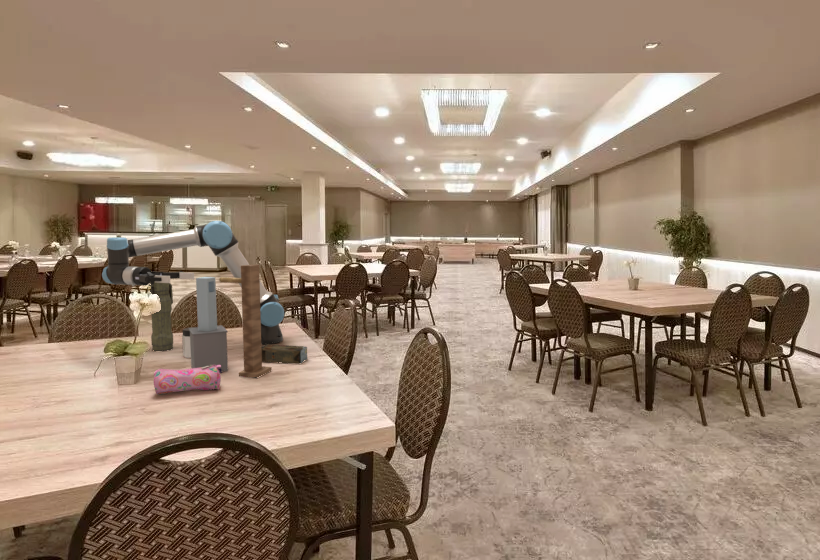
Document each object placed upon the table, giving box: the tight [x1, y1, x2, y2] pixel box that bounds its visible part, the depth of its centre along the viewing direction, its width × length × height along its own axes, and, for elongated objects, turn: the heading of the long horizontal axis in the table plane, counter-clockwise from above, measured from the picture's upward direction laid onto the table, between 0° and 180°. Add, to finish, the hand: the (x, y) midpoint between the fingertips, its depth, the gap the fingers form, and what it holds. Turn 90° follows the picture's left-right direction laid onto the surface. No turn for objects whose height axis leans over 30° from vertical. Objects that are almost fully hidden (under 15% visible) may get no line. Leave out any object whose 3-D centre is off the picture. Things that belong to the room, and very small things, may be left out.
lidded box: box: [188, 325, 229, 373], centre depth 199 cm, size 13×13×16 cm
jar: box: [181, 326, 198, 359], centre depth 219 cm, size 9×8×12 cm
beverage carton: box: [261, 343, 308, 364], centre depth 212 cm, size 8×19×7 cm, turn 81°
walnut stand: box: [218, 263, 273, 378], centre depth 193 cm, size 18×10×42 cm, turn 75°
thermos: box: [146, 281, 174, 352], centre depth 229 cm, size 9×12×35 cm
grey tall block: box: [195, 276, 218, 331], centre depth 197 cm, size 5×5×21 cm
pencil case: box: [153, 365, 223, 395], centre depth 173 cm, size 21×9×9 cm, turn 110°
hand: (182, 277), depth 200 cm, fingers open, 13 cm apart
